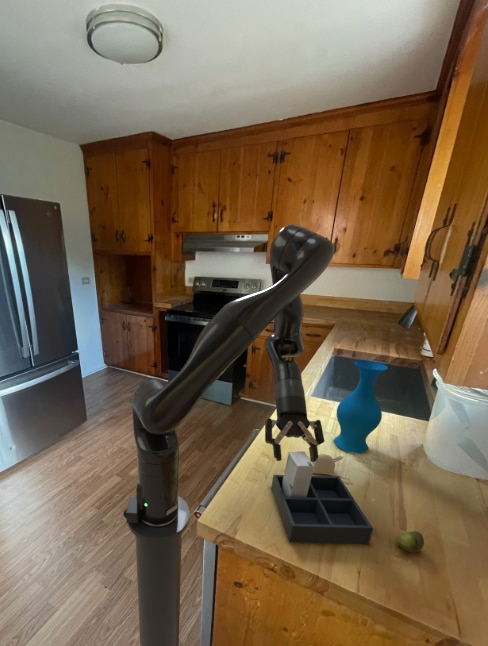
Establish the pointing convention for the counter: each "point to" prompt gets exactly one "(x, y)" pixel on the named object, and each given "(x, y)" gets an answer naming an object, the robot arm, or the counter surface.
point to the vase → (359, 410)
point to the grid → (322, 513)
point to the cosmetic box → (297, 475)
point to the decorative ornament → (325, 464)
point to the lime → (411, 541)
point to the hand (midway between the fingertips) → (296, 461)
